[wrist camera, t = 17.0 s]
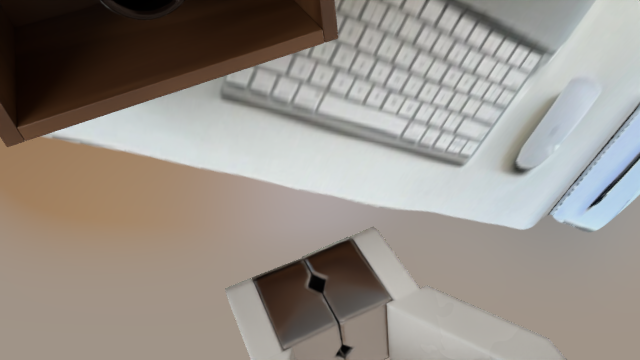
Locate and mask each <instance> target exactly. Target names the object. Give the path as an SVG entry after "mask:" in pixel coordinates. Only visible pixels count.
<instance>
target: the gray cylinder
mask: <svg viewBox="0 0 640 360" xmlns="http://www.w3.org/2000/svg"><path fill="white" fill-rule="evenodd" d="M100 1H101V2H102V3H103V4H104V5H105V6H107V7H108V8H109V9H111V10H112V11H114V12H115V13H117V14H119V15H122V16H124V17H127V18H131V19H136V20H152V19H157V18H161V17H163V16H166V15H168V14H170V13H172V12H173V11H175V10H176V9H177V8H178V7H180V6H181V5H182V4H183V2H184V1H185V0H100Z"/></svg>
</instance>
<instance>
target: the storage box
mask: <svg viewBox="0 0 640 360" xmlns="http://www.w3.org/2000/svg"><path fill="white" fill-rule="evenodd" d="M337 38H338V30H337V20H336V10H335V0H185V1H184V2H183V4H182V5H181V6H180V7H178V8H177V9H176V10H175V11H173V12H172V13H170V14H168V15H166V16H163V17H161V18H157V19H152V20H136V19H131V18H127V17H124V16H122V15H119V14H117V13H115V12H114V11H112V10H111V9H109V8H108V7H107V6H105V5H104V4H103V3H102V2H101V1H100V0H0V137H1V139H2V140H3V142H4V143H5V145H6V146H7V147H9V146H12V145H16V144H18V143H22V142H24V141H27V140H30V139H33V138H36V137H39V136H43V135H46V134H49V133H52V132H55V131H58V130H61V129H64V128H67V127H70V126H73V125H76V124H79V123H82V122H85V121H88V120H91V119H94V118H97V117H100V116H103V115H106V114H109V113H113V112H116V111H119V110H122V109H125V108H128V107H131V106H134V105H137V104H140V103H143V102H146V101H149V100H152V99H155V98H158V97H161V96H164V95H167V94H170V93H173V92H176V91H180V90H183V89H186V88H189V87H192V86H195V85H198V84H201V83H204V82H207V81H210V80H213V79H216V78H219V77H222V76H225V75H228V74H231V73H234V72H237V71H240V70H243V69H246V68H250V67H253V66H256V65H259V64H262V63H265V62H268V61H271V60H274V59H277V58H280V57H283V56H286V55H289V54H292V53H295V52H298V51H301V50H304V49H307V48H310V47H313V46H317V45H320V44H323V43H324V42H328V41H332V40H335V39H337Z"/></svg>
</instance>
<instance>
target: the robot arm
mask: <svg viewBox="0 0 640 360" xmlns="http://www.w3.org/2000/svg"><path fill="white" fill-rule="evenodd" d="M225 290H226V294H227V298H228V300H229V303H230V306H231V308H232V311H233V313H234V316H235V319H236V321H237V324H238V327H239V329H240V332H241V335H242V337H243V340H244V343H245V345H246V348H247V351H248V353H249V356H250V359H251V360H385V359H387V358H390V360H567V359H566V358H565V357H564V356H563V355H562V353H561V352H560V351H559V350H558V349H557V348H556V346H555V345H554V344H553V343H552V342H551V341H550V340H549V338H547V337H544V336H542V335H540V334H537V333H535V332H533V331H531V330H528V329H526V328H524V327H521V326H519V325H517V324H515V323H512V322H510V321H508V320H505V319H503V318H501V317H499V316H496V315H494V314H492V313H489V312H487V311H485V310H482V309H480V308H478V307H476V306H474V305H471V304H469V303H466V302H464V301H462V300H460V299H458V298H455V297H453V296H450V295H448V294H446V293H444V292H441V291H439V290H437V289H435V288H432V287H430V286H428V285H427V286H424V287H422V288H420V287H419V286H418V284H417V283H416V282H415V280H414V279H413V277H412V276H411V275H410V273H409V272H408V271H407V269H406V268H405V266H404V265H403V264H402V262H401V261H400V260H399V258H398V257H397V255H396V254H395V253H394V251H393V250H392V249H391V247H390V246H389V244H388V243H387V242H386V240H385V239H384V237H383V236H382V235H381V234H380V232H379V231H378V230H377V229H376V228H374V227H371V228H369V229H366V230H364V231H362V232H360V233H357V234H355V235H352V236H350V237H346V238H344V239H342V240H339V241H337V242H335V243H332V244H330V245H328V246H325V247H323V248H321V249H319V250H316V251H314V252H312V253H310V254H307V255H305V256H303V257H302V258H301V259H298V260H296V261H293V262H291V263H288V264H285V265H283V266H280V267H278V268H275V269H273V270H270V271H268V272H265V273H263V274H260V275H257V276H255V277H252V279H251V278H250V279H247V280H245V281H242V282H240V283H238V284H235V285H233V286H230V287H228V288H226V289H225Z"/></svg>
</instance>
